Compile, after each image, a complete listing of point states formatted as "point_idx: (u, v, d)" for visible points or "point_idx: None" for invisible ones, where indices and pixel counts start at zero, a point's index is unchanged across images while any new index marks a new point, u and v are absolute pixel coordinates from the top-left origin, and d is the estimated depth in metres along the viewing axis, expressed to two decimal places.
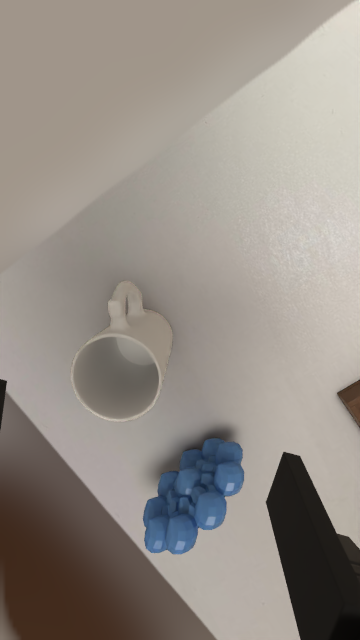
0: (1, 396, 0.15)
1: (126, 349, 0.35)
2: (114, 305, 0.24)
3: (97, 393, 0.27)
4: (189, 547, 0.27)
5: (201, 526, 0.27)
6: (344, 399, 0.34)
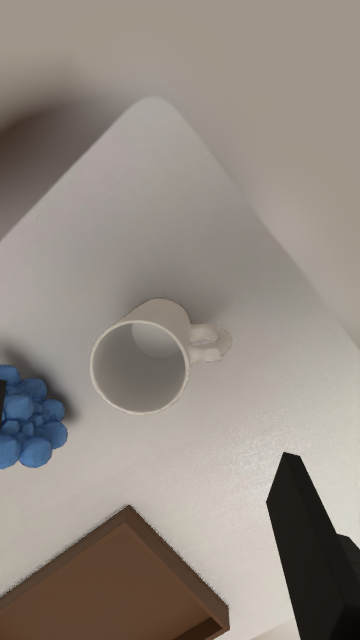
0: (1, 397, 0.15)
1: None
2: (215, 356, 0.23)
3: (111, 332, 0.24)
4: None
5: None
6: (126, 516, 0.37)
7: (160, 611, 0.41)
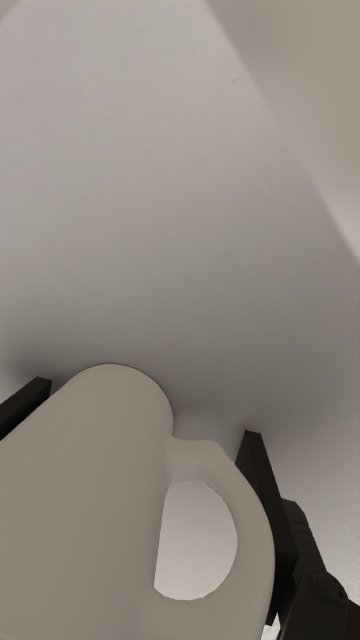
0: (47, 395, 0.16)
1: None
2: None
3: None
4: None
5: None
6: None
7: None
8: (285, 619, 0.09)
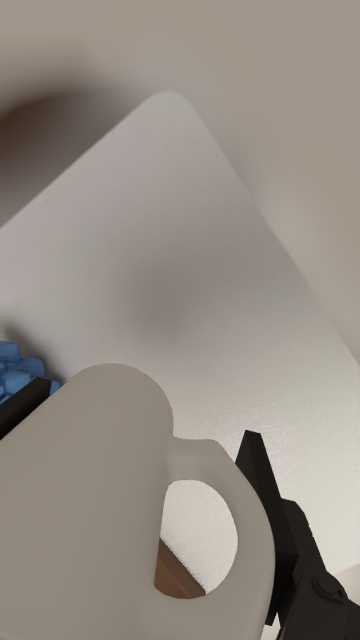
0: (47, 395, 0.16)
1: None
2: None
3: None
4: None
5: None
6: None
7: None
8: (285, 619, 0.09)
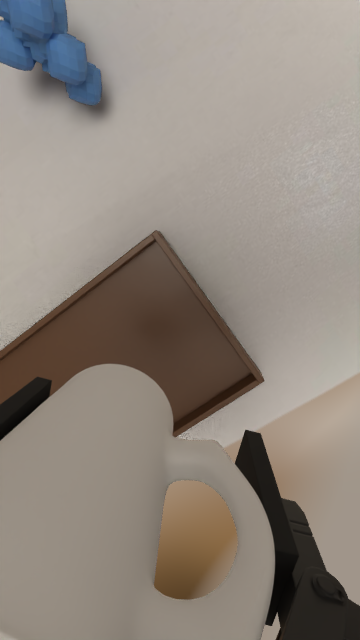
0: (47, 395, 0.16)
1: None
2: None
3: None
4: None
5: None
6: (158, 231, 0.32)
7: (182, 372, 0.36)
8: (285, 619, 0.09)
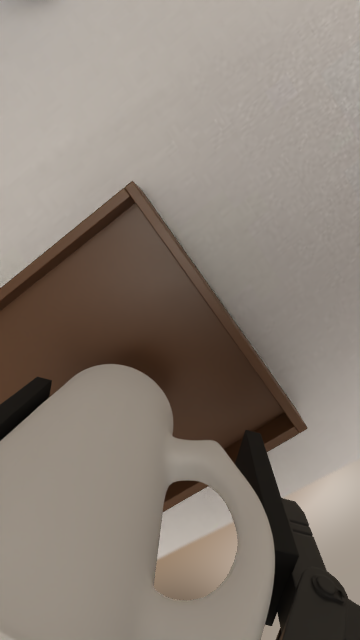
0: (47, 395, 0.16)
1: None
2: None
3: None
4: None
5: None
6: (136, 185, 0.19)
7: (177, 409, 0.23)
8: (285, 619, 0.09)
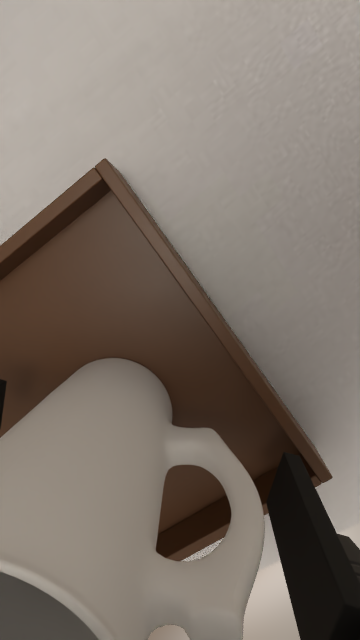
0: (1, 396, 0.15)
1: None
2: (226, 637, 0.07)
3: None
4: None
5: None
6: (111, 164, 0.15)
7: None
8: None
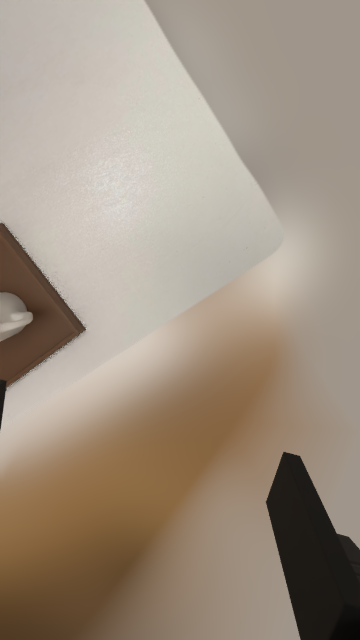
0: (1, 396, 0.15)
1: None
2: None
3: None
4: None
5: None
6: None
7: (28, 329, 0.48)
8: None
